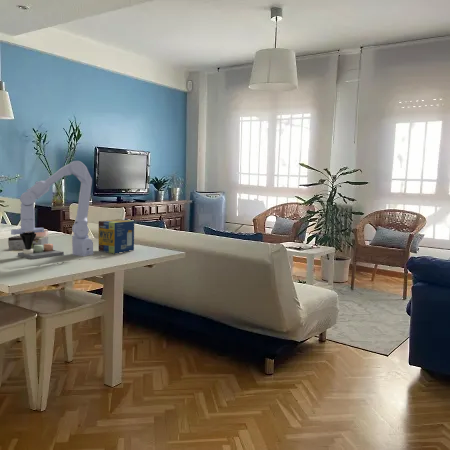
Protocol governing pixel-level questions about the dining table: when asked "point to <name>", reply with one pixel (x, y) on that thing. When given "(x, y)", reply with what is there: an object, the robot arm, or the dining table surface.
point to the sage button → (38, 248)
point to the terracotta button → (48, 247)
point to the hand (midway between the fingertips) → (28, 249)
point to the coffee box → (18, 243)
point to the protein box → (116, 236)
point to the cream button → (27, 251)
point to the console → (41, 254)
